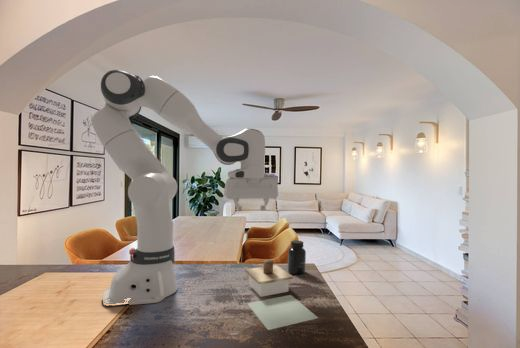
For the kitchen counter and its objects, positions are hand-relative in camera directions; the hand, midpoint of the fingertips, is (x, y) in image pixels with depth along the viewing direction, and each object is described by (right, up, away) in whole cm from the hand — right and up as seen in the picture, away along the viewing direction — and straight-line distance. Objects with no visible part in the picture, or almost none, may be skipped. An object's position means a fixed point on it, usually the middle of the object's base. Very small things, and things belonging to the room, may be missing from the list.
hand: (251, 210), depth 105 cm
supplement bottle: (+18, -25, +7) cm, 31 cm away
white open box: (+6, -26, -9) cm, 28 cm away
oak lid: (+6, -21, -9) cm, 23 cm away
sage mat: (+9, -26, -24) cm, 36 cm away
